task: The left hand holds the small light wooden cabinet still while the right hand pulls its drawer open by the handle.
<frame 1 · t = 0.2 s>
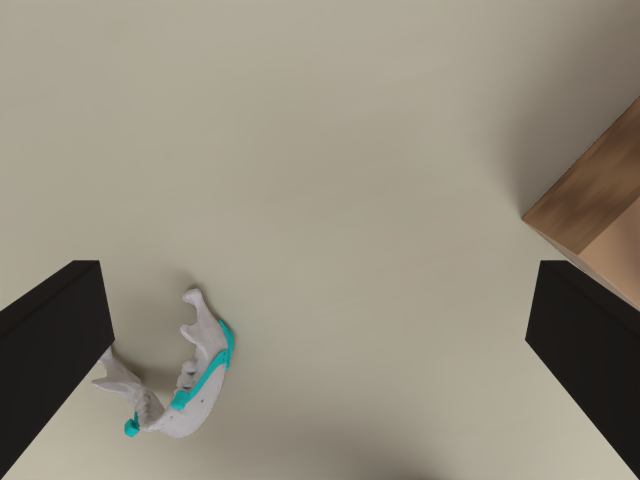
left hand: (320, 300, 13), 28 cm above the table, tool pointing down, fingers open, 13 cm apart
cabinet: (637, 171, 39), on the table
anatomical model: (178, 349, 46), on the table
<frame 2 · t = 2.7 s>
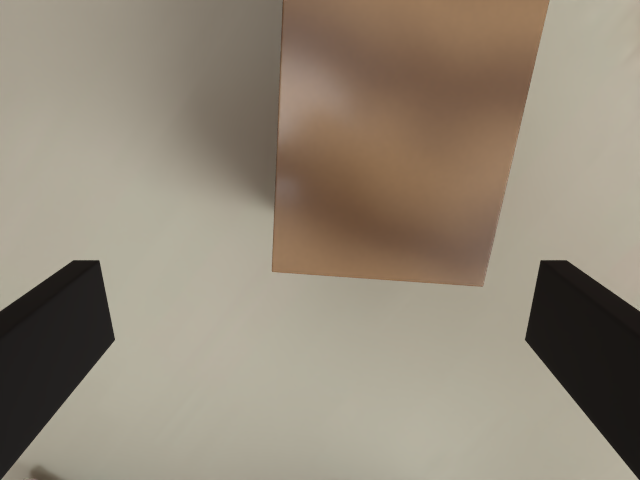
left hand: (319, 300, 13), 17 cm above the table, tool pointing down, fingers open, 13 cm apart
cabinet: (377, 71, 26), on the table
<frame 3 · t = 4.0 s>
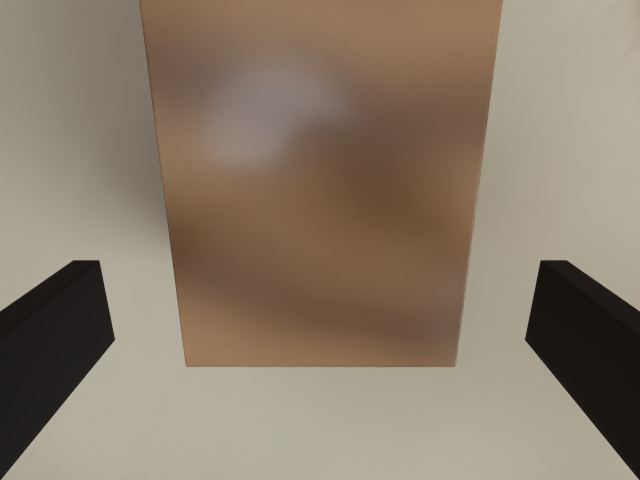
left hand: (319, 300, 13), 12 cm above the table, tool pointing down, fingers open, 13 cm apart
cabinet: (320, 95, 22), on the table
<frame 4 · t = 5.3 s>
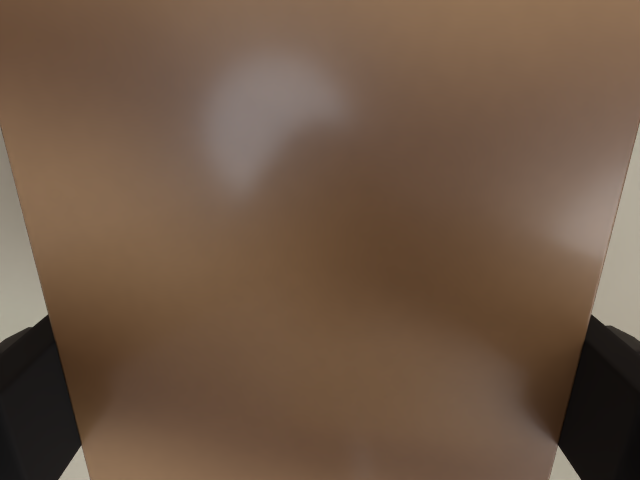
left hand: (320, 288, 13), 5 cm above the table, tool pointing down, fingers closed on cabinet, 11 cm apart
cabinet: (319, 88, 16), on the table, touching left hand
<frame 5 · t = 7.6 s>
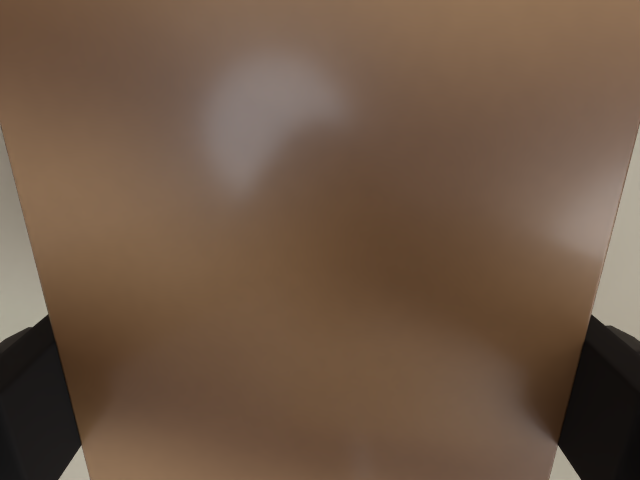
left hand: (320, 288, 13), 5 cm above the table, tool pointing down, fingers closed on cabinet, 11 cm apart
cabinet: (319, 88, 16), on the table, touching left hand
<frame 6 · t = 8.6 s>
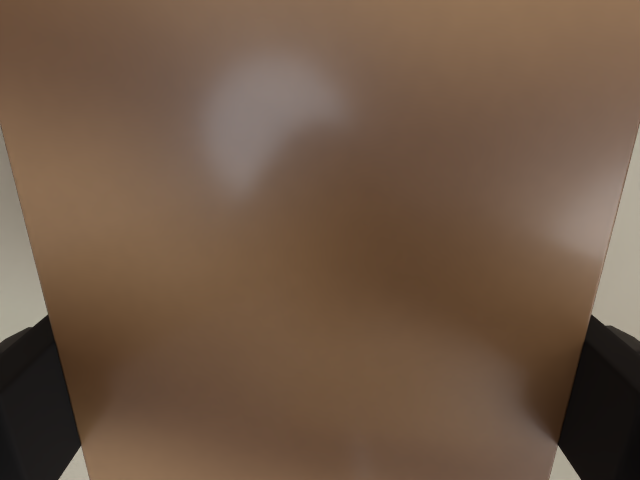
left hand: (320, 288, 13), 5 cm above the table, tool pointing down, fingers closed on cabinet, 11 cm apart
cabinet: (319, 88, 16), on the table, touching left hand
when the left hand's fingers open (5 cm above the table, at t = 10.6 s): cabinet stays where it is, on the table.
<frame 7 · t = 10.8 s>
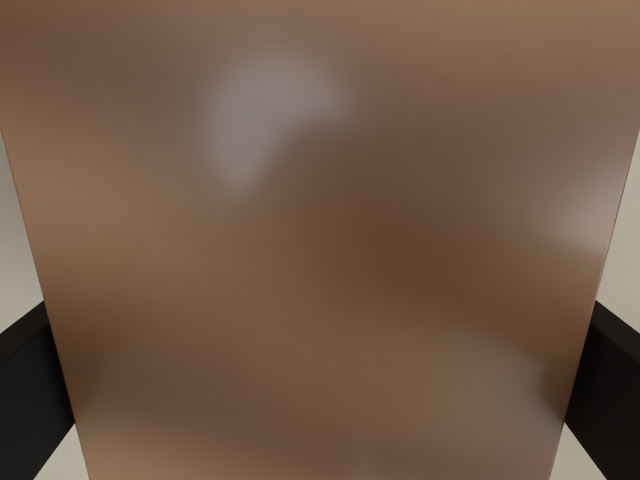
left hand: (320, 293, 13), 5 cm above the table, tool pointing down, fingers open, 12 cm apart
cabinet: (320, 88, 16), on the table
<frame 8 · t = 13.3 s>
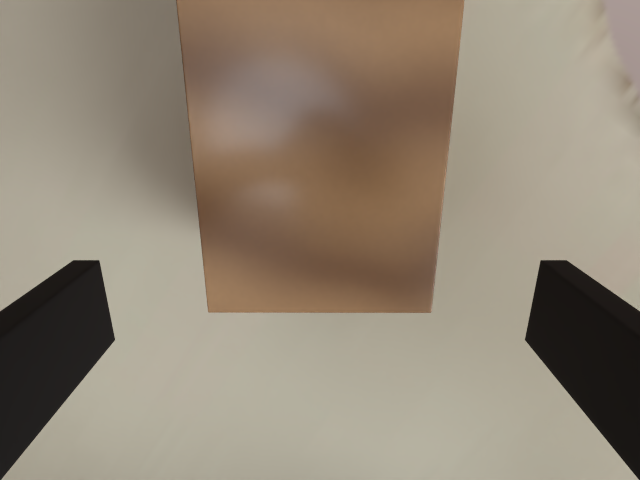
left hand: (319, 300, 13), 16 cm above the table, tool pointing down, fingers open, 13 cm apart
cabinet: (320, 88, 25), on the table
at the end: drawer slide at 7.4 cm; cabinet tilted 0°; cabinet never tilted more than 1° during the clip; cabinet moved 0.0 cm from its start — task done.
